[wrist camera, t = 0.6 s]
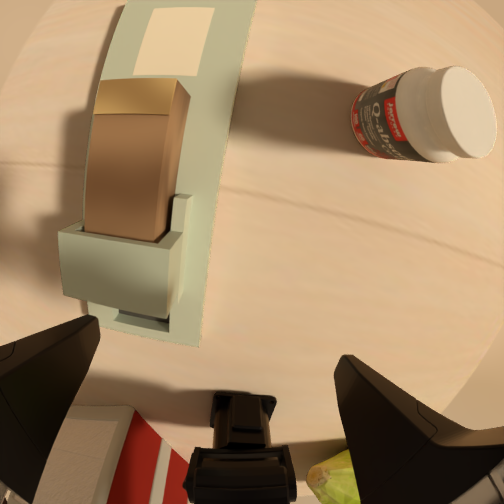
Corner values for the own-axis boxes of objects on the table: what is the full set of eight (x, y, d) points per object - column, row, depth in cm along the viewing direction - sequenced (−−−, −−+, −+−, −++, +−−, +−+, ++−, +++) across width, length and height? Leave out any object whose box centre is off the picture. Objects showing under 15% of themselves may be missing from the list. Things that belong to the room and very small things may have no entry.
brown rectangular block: (168, 270, 19) (151, 298, 15) (112, 260, 18) (85, 284, 14) (190, 96, 15) (176, 78, 11) (128, 94, 15) (100, 80, 11)
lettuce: (349, 415, 28) (376, 490, 16) (414, 439, 33) (436, 484, 22) (277, 458, 30) (286, 524, 19) (360, 474, 36) (373, 518, 25)
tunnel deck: (201, 336, 22) (190, 394, 16) (96, 315, 22) (62, 360, 15) (256, 3, 14) (263, -49, 7) (135, 2, 13) (105, -38, 6)
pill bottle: (333, 118, 17) (410, 89, 8) (375, 75, 16) (457, 37, 7) (383, 174, 19) (475, 192, 9) (420, 129, 17) (511, 126, 8)
